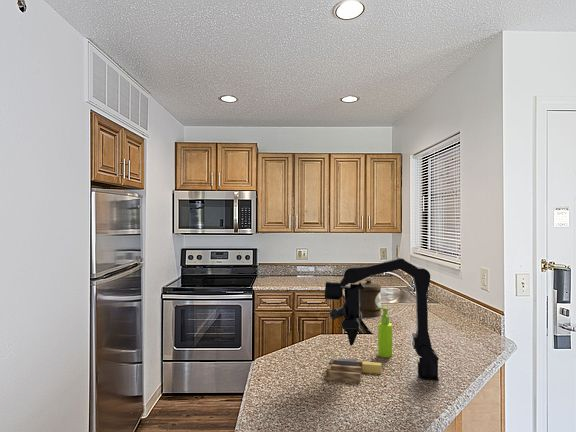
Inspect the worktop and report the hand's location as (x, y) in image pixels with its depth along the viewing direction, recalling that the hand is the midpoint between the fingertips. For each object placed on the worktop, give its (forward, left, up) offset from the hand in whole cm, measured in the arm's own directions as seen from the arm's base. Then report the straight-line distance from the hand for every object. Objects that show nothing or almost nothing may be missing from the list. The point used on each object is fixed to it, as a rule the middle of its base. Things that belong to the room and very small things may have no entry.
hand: (352, 341), depth 157 cm
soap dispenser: (-11, -23, -11) cm, 28 cm away
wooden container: (-2, -102, -11) cm, 102 cm away
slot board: (+3, +4, -11) cm, 12 cm away
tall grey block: (+2, 0, -10) cm, 10 cm away
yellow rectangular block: (-7, -2, -11) cm, 13 cm away
